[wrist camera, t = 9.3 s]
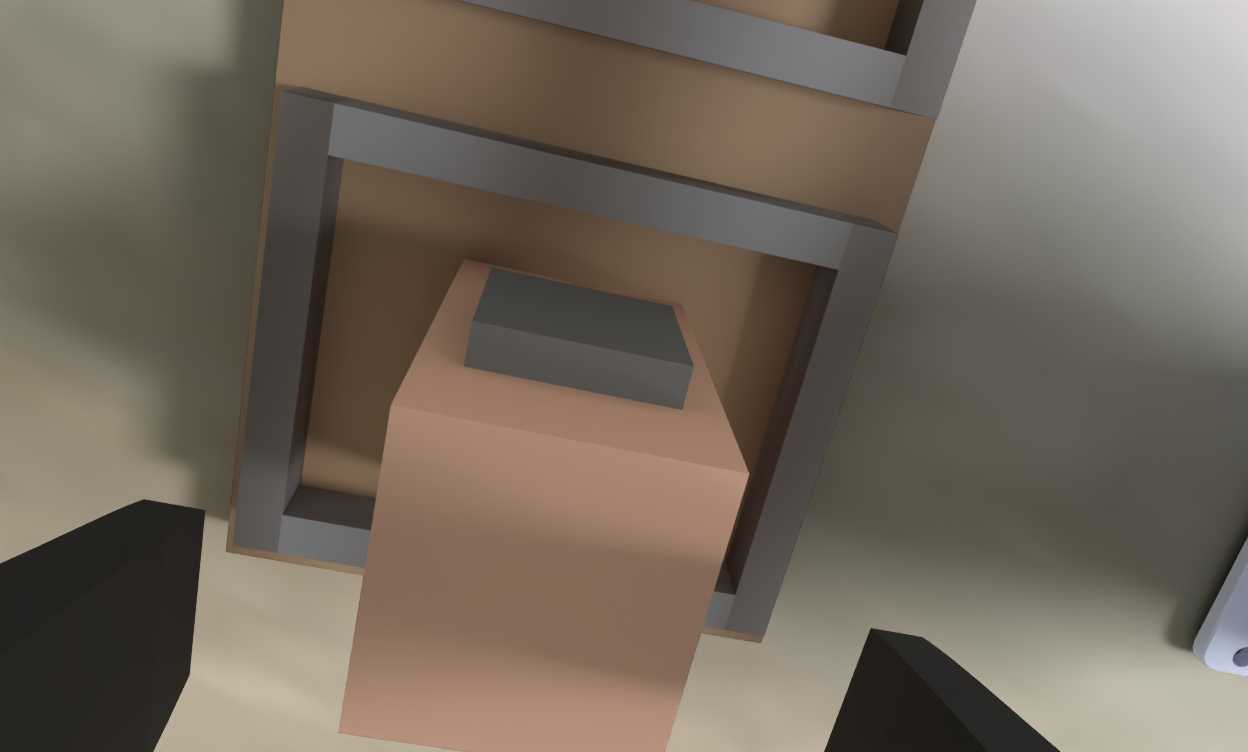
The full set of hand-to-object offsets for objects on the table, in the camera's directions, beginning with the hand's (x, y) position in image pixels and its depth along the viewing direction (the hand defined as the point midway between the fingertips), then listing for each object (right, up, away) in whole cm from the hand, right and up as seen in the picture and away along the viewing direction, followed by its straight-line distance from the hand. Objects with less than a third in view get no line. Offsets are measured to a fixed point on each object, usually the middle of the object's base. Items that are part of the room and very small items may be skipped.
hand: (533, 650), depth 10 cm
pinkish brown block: (0, +3, +7) cm, 8 cm away
